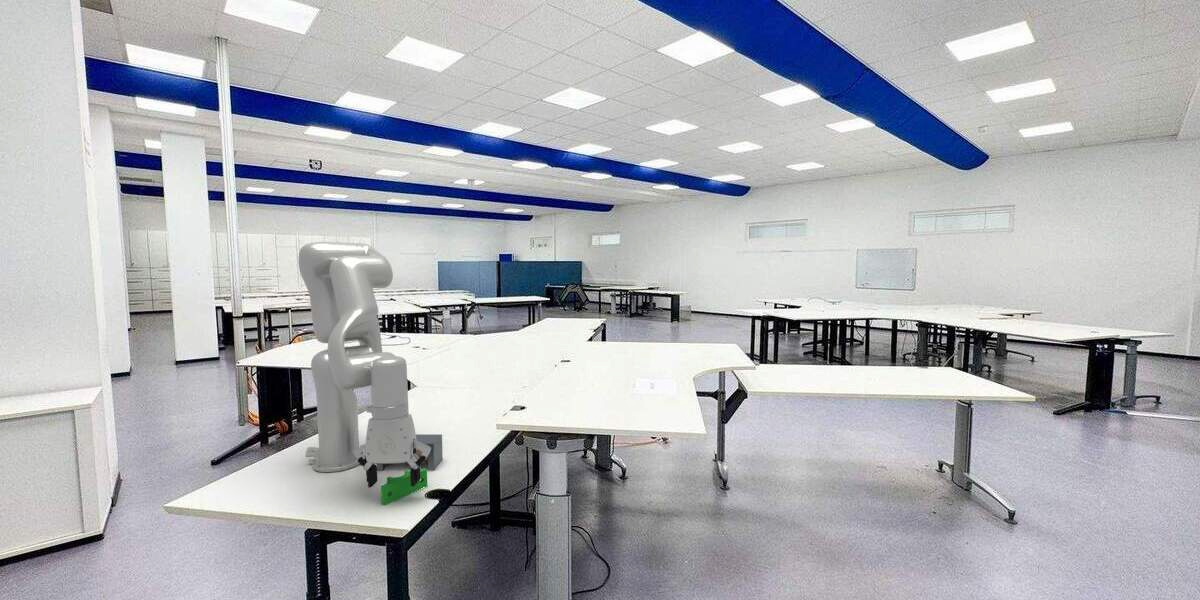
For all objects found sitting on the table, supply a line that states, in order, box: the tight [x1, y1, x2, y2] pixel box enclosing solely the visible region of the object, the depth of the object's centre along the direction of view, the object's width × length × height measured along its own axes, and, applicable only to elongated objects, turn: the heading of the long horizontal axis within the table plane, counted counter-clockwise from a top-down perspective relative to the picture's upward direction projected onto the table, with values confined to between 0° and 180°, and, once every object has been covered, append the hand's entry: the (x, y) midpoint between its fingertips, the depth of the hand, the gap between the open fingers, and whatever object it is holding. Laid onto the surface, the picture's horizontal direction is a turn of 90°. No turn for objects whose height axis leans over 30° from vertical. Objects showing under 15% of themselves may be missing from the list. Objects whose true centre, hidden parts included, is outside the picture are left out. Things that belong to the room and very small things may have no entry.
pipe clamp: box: [380, 467, 428, 506], centre depth 109 cm, size 11×4×5 cm, turn 145°
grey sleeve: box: [376, 433, 444, 472], centre depth 124 cm, size 15×7×7 cm, turn 91°
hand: (393, 484), depth 106 cm, fingers open, 9 cm apart
